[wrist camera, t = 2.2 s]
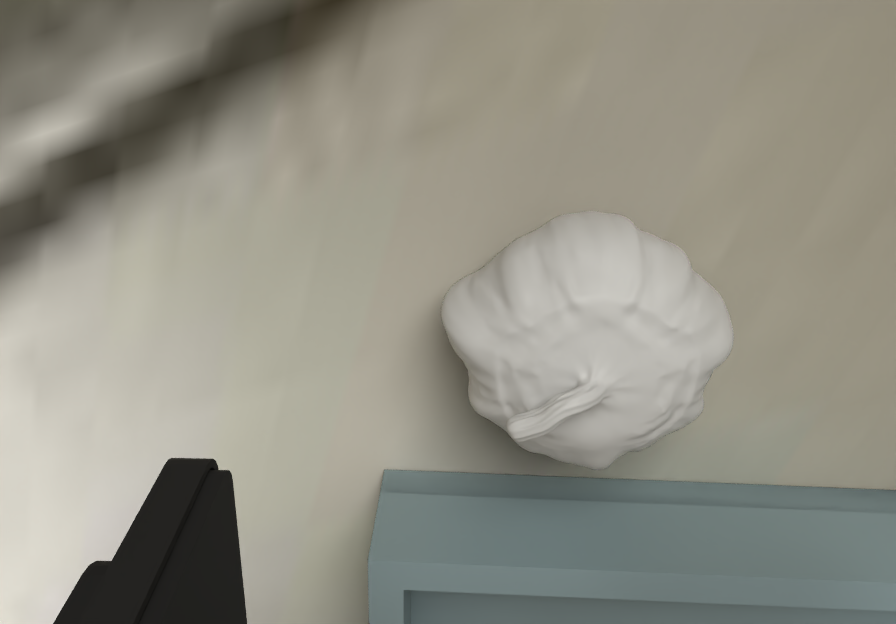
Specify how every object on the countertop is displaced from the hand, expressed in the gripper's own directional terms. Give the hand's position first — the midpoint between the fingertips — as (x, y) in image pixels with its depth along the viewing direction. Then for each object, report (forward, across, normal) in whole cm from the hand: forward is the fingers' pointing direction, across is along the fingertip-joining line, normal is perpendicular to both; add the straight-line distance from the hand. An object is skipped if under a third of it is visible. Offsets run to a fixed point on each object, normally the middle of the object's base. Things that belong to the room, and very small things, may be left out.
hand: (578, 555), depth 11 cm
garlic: (+9, -1, 0) cm, 9 cm away
